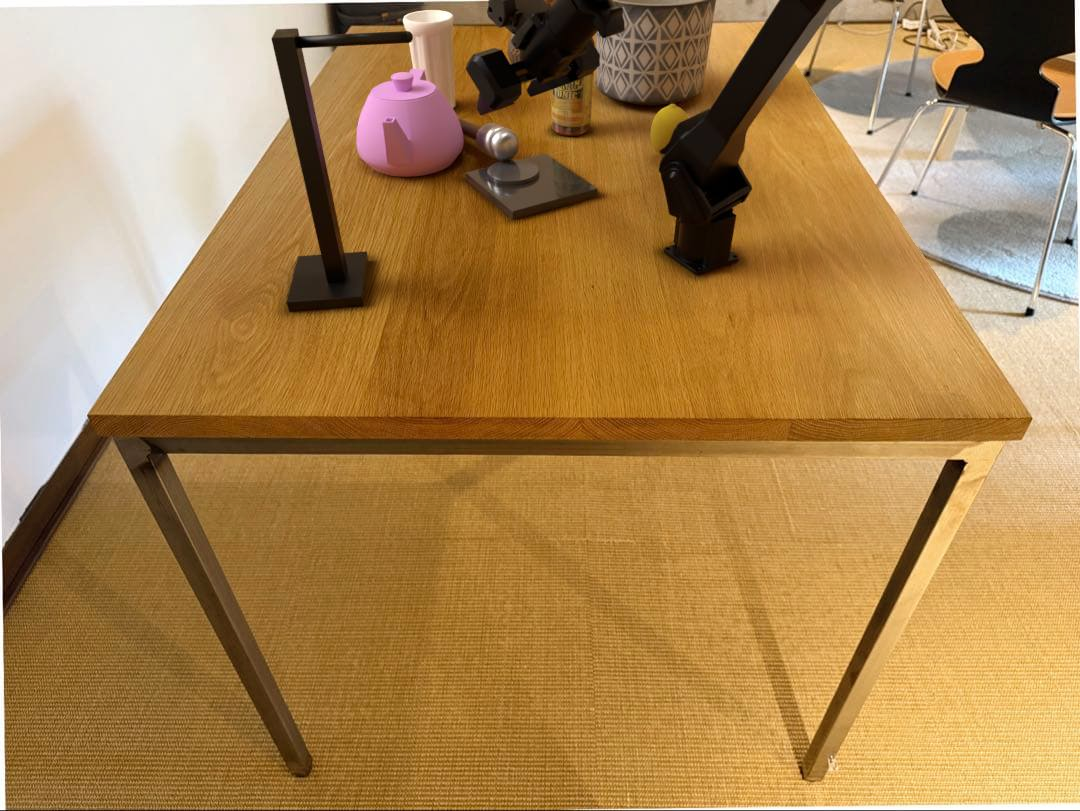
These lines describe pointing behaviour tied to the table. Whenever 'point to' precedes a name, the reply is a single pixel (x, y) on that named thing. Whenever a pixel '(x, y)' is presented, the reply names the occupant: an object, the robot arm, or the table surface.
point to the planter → (656, 51)
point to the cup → (433, 48)
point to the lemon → (665, 126)
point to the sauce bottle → (572, 106)
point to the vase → (513, 51)
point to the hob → (530, 185)
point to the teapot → (408, 127)
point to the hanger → (320, 178)
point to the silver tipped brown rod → (492, 139)
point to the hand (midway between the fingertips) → (504, 102)
